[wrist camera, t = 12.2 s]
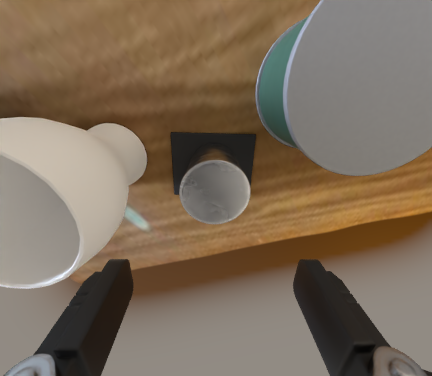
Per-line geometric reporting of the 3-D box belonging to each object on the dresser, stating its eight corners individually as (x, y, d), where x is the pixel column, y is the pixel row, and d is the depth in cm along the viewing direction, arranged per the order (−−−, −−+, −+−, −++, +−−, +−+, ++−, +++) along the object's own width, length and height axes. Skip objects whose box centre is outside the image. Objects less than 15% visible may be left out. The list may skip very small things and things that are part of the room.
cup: (176, 166, 25) (134, 246, 11) (115, 208, 27) (20, 316, 14) (115, 88, 22) (-55, 69, 8) (50, 144, 24) (-170, 205, 10)
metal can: (189, 189, 26) (180, 224, 19) (187, 140, 24) (177, 159, 16) (237, 190, 26) (247, 224, 19) (240, 142, 24) (254, 160, 16)
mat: (174, 193, 27) (174, 194, 26) (171, 132, 24) (170, 132, 23) (248, 194, 27) (249, 195, 27) (255, 134, 24) (255, 134, 23)
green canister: (249, 146, 24) (273, 174, 15) (263, 12, 19) (310, -69, 10) (353, 149, 25) (436, 177, 16) (394, 17, 20) (554, -54, 10)
